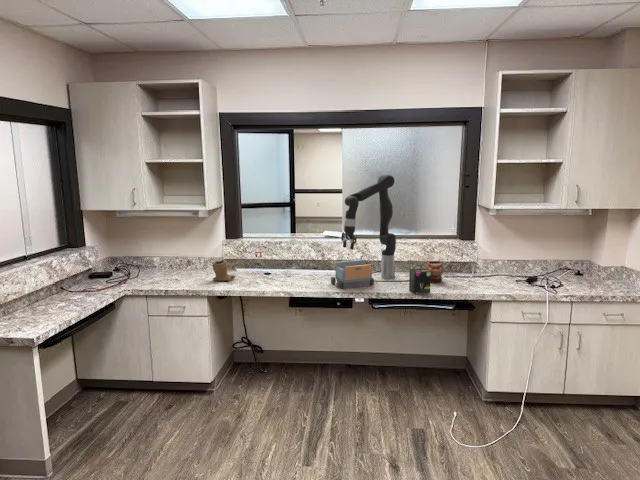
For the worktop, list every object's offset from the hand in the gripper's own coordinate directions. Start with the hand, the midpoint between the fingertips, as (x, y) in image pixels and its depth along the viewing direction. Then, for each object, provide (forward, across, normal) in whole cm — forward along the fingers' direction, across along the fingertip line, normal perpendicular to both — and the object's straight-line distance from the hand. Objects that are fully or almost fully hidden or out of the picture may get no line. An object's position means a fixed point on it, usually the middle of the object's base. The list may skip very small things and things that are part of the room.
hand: (348, 248), depth 290 cm
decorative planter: (+20, -30, -56) cm, 67 cm away
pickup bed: (+25, -4, -3) cm, 25 cm away
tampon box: (+22, -44, -28) cm, 57 cm away
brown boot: (+32, +58, +68) cm, 95 cm away
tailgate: (+19, -13, 0) cm, 23 cm away
